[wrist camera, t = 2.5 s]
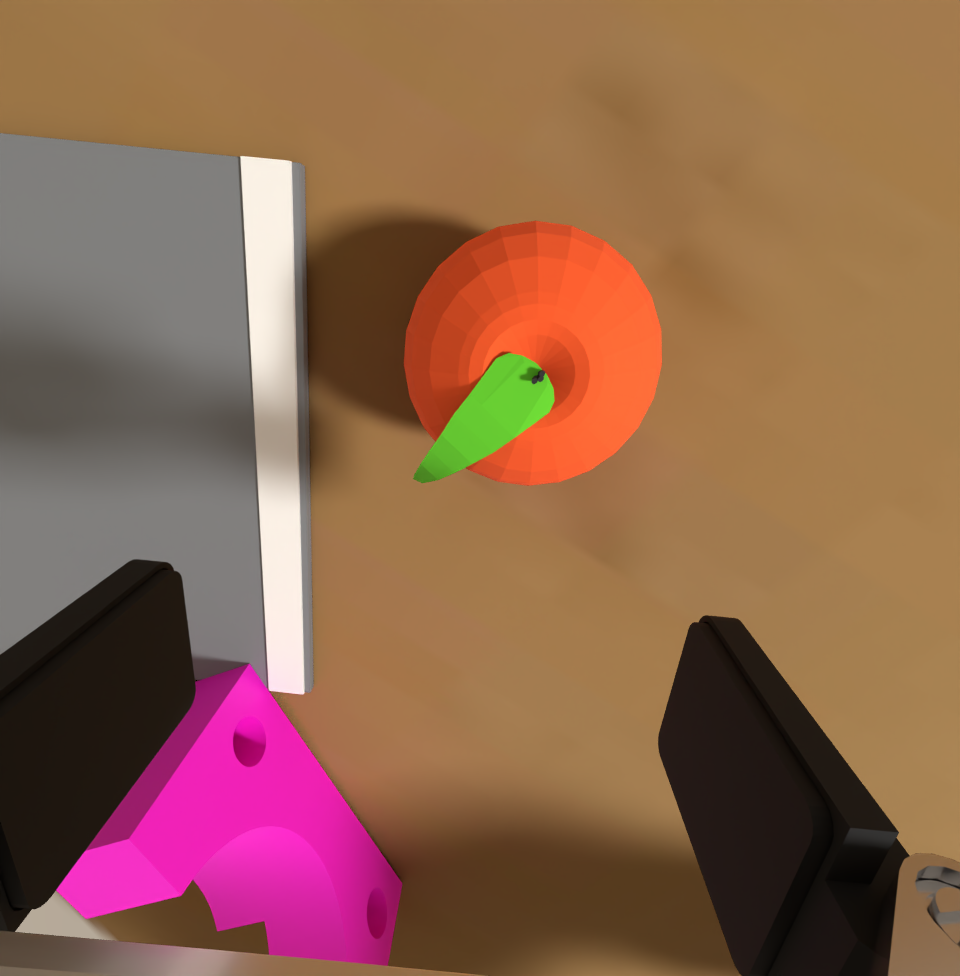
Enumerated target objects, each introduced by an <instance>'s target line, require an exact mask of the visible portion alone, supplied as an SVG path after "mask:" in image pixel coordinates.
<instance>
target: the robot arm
mask: <svg viewBox="0 0 960 976" xmlns="http://www.w3.org/2000/svg"><path fill="white" fill-rule="evenodd" d="M195 693H196V685H195V677H194V669H193V661H192V653H191V645H190V637H189V629H188V621H187V613H186V605H185V597H184V589H183V581H182V576H181V574H180V573H179V572H177V571H174V568H173V567H172V565H171V564H170V563H168V562H161V561H151V560H141V559H133V560H131V561H129V562H127V563H126V564H125V565H123V566H122V567H121V568H119V569H118V570H116V571H115V572H114V573H112V574H111V575H109V576H108V577H107V578H105V579H104V580H103V581H101V582H100V583H98V584H97V585H96V586H94V587H93V588H92V589H90V590H89V591H87V592H86V593H85V594H83V595H82V596H81V597H79V598H78V599H76V600H75V601H74V602H72V603H71V604H69V605H68V606H67V607H65V608H64V609H63V610H61V611H60V612H58V613H57V614H56V615H54V616H53V617H52V618H50V619H49V620H47V621H46V622H45V623H43V624H42V625H41V626H39V627H38V628H36V629H35V630H34V631H32V632H31V633H29V634H28V635H27V636H25V637H24V638H23V639H21V640H20V641H18V642H17V643H16V644H14V645H13V646H12V647H10V648H9V649H7V650H6V651H5V652H3V653H2V654H1V655H0V976H486V975H477V974H466V973H456V972H445V971H435V970H424V969H414V968H403V967H393V966H382V965H372V964H362V963H351V962H341V961H330V960H319V959H309V958H298V957H287V956H277V955H266V954H255V953H245V952H234V951H223V950H212V949H201V948H190V947H178V946H167V945H156V944H144V943H133V942H122V941H110V940H99V939H87V938H77V937H64V936H54V935H43V934H31V933H20V932H15V931H16V929H17V928H18V927H19V926H20V924H21V923H22V922H23V920H24V919H25V918H26V916H27V915H28V914H29V912H30V911H31V910H32V909H37V908H39V907H41V906H42V905H43V904H45V902H47V901H48V900H49V898H50V897H51V896H52V895H53V894H54V892H55V891H56V890H57V888H58V887H59V885H60V884H61V883H62V881H63V880H64V879H65V877H66V876H67V875H68V873H69V872H70V871H71V869H72V868H73V867H74V865H75V864H76V862H77V861H78V860H79V858H80V857H81V856H82V854H83V853H84V852H85V850H86V849H87V848H88V846H89V845H90V844H91V842H92V841H93V840H94V838H95V837H96V835H97V834H98V833H99V831H100V830H101V829H102V827H103V826H104V825H105V823H106V822H107V821H108V819H109V818H110V817H111V815H112V814H113V812H114V811H115V810H116V808H117V807H118V806H119V804H120V803H121V802H122V800H123V799H124V798H125V796H126V795H127V794H128V792H129V791H130V790H131V788H132V787H133V785H134V784H135V783H136V781H137V780H138V779H139V777H140V776H141V775H142V773H143V772H144V771H145V769H146V768H147V767H148V765H149V764H150V762H151V761H152V760H153V758H154V757H155V756H156V754H157V753H158V752H159V750H160V749H161V748H162V746H163V745H164V744H165V742H166V741H167V739H168V738H169V737H170V735H171V734H172V733H173V731H174V730H175V729H176V727H177V726H178V725H179V723H180V722H181V721H182V719H183V718H184V717H185V715H186V714H187V712H188V711H189V710H190V708H191V706H192V704H193V701H194V698H195ZM658 747H659V753H660V757H661V759H662V762H663V765H664V768H665V771H666V774H667V776H668V779H669V782H670V785H671V788H672V790H673V793H674V796H675V799H676V802H677V804H678V807H679V810H680V813H681V816H682V819H683V821H684V824H685V827H686V830H687V833H688V835H689V838H690V841H691V844H692V847H693V850H694V852H695V855H696V858H697V861H698V864H699V866H700V869H701V872H702V875H703V878H704V880H705V883H706V886H707V889H708V892H709V895H710V897H711V900H712V903H713V906H714V909H715V911H716V914H717V917H718V920H719V923H720V925H721V928H722V931H723V934H724V937H725V940H726V942H727V945H728V948H729V951H730V954H731V956H732V959H733V962H734V964H735V966H736V968H737V970H738V971H739V973H740V974H741V975H742V976H960V863H959V862H957V861H955V860H953V859H950V858H946V857H943V856H939V855H936V854H925V853H915V854H913V855H911V856H909V854H908V853H907V852H906V850H905V849H904V848H903V846H902V845H901V844H900V842H899V841H898V839H897V838H896V837H897V835H898V833H899V832H898V831H897V829H896V828H895V827H894V825H893V824H892V823H891V821H890V820H889V819H888V817H887V816H886V815H885V813H884V812H883V811H882V809H881V808H880V807H879V805H878V804H877V802H876V801H875V800H874V798H873V797H872V796H871V794H870V793H869V792H868V790H867V789H866V788H865V786H864V785H863V784H862V782H861V781H860V780H859V778H858V777H857V776H856V774H855V773H854V772H853V770H852V769H851V768H850V766H849V765H848V764H847V762H846V761H845V760H844V758H843V757H842V756H841V754H840V753H839V752H838V750H837V749H836V748H835V746H834V745H833V744H832V742H831V741H830V740H829V738H828V737H827V736H826V734H825V733H824V732H823V730H822V729H821V728H820V726H819V725H818V724H817V722H816V721H815V720H814V718H813V717H812V716H811V714H810V713H809V712H808V710H807V709H806V708H805V706H804V705H803V704H802V702H801V701H800V700H799V698H798V697H797V696H796V694H795V693H794V692H793V690H792V689H791V688H790V686H789V685H788V684H787V682H786V681H785V680H784V678H783V677H782V676H781V674H780V673H779V672H778V670H777V669H776V668H775V666H774V665H773V664H772V662H771V661H770V660H769V658H768V657H767V656H766V654H765V653H764V652H763V650H762V649H761V648H760V646H759V645H758V644H757V642H756V641H755V640H754V638H753V637H752V636H751V634H750V633H749V632H748V630H747V629H746V628H745V626H744V625H743V624H742V622H741V621H740V620H739V619H736V618H728V617H717V616H707V615H705V616H703V617H702V618H701V619H700V621H699V623H697V622H694V623H692V624H691V625H690V627H689V630H688V633H687V637H686V640H685V644H684V647H683V651H682V654H681V658H680V661H679V665H678V668H677V672H676V675H675V679H674V682H673V686H672V689H671V693H670V696H669V700H668V703H667V707H666V710H665V714H664V718H663V721H662V725H661V728H660V732H659V737H658Z"/></svg>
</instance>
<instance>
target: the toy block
mask: <svg viewBox="0 0 960 976" xmlns="http://www.w3.org/2000/svg"><path fill="white" fill-rule="evenodd" d="M195 685H196V693H195V698H194V701H193V704H192V706H191V708H190V710H189V711H188V712H187V714H186V715H185V717H184V718H183V719H182V721H181V722H180V723H179V725H178V726H177V727H176V729H175V730H174V731H173V733H172V734H171V735H170V737H169V738H168V739H167V741H166V742H165V744H164V745H163V746H162V748H161V749H160V750H159V752H158V753H157V754H156V756H155V757H154V758H153V760H152V761H151V762H150V764H149V765H148V767H147V768H146V769H145V771H144V772H143V773H142V775H141V776H140V777H139V779H138V780H137V781H136V783H135V784H134V785H133V787H132V788H131V790H130V791H129V792H128V794H127V795H126V796H125V798H124V799H123V800H122V802H121V803H120V804H119V806H118V807H117V808H116V810H115V811H114V812H113V814H112V815H111V817H110V818H109V819H108V821H107V822H106V823H105V825H104V826H103V827H102V829H101V830H100V831H99V833H98V834H97V835H96V837H95V838H94V840H93V841H92V842H91V844H90V845H89V846H88V848H87V849H86V850H85V852H84V853H83V854H82V856H81V857H80V858H79V860H78V861H77V862H76V864H75V865H74V867H73V868H72V869H71V871H70V872H69V873H68V875H67V876H66V877H65V879H64V880H63V881H62V883H61V884H60V885H59V887H58V888H57V890H56V891H57V892H58V893H59V894H60V895H61V896H63V897H64V898H65V899H66V900H67V901H68V902H69V903H70V904H71V905H72V906H73V907H74V908H75V909H76V910H77V911H78V912H79V913H80V914H81V915H82V916H83V917H84V918H85V919H88V918H92V917H96V916H100V915H105V914H109V913H113V912H117V911H121V910H125V909H129V908H133V907H137V906H142V905H146V904H150V903H154V902H158V901H162V900H166V899H170V898H175V897H179V896H182V894H183V893H184V891H185V890H186V888H187V887H188V885H189V884H190V882H191V881H192V880H193V881H194V882H195V883H196V884H197V885H198V887H199V888H200V890H201V891H202V893H203V894H204V896H205V898H206V900H207V902H208V904H209V906H210V909H211V911H212V914H213V917H214V920H215V924H216V928H217V932H218V931H222V930H227V929H231V928H236V927H240V926H245V925H249V924H254V923H258V922H263V921H265V926H266V932H267V939H268V947H269V955H277V956H287V957H298V958H309V959H319V960H330V961H341V962H351V963H362V964H372V965H382V966H388V961H389V956H390V950H391V945H392V939H393V933H394V928H395V922H396V917H397V911H398V905H399V900H400V894H401V888H402V882H401V881H400V879H399V878H398V876H397V875H396V874H395V872H394V871H393V869H392V868H391V866H390V865H389V864H388V862H387V861H386V859H385V858H384V856H383V855H382V853H381V852H380V851H379V849H378V848H377V846H376V845H375V843H374V842H373V840H372V839H371V838H370V836H369V835H368V833H367V832H366V830H365V829H364V828H363V826H362V825H361V823H360V822H359V820H358V819H357V817H356V816H355V815H354V813H353V812H352V810H351V809H350V807H349V806H348V805H347V803H346V802H345V800H344V799H343V797H342V796H341V794H340V793H339V792H338V790H337V789H336V787H335V786H334V784H333V783H332V781H331V780H330V779H329V777H328V776H327V774H326V773H325V771H324V770H323V769H322V767H321V766H320V764H319V763H318V761H317V760H316V758H315V757H314V756H313V754H312V753H311V751H310V750H309V748H308V747H307V745H306V744H305V743H304V741H303V740H302V738H301V737H300V735H299V734H298V733H297V731H296V730H295V728H294V727H293V725H292V724H291V722H290V721H289V720H288V718H287V717H286V715H285V714H284V712H283V711H282V710H281V708H280V707H279V705H278V704H277V702H276V701H275V699H274V698H273V697H272V695H271V694H270V692H269V691H268V689H267V688H266V686H265V685H264V684H263V682H262V681H261V679H260V678H259V676H258V675H257V674H256V672H255V671H254V669H253V668H252V666H251V665H250V664H247V665H244V666H241V667H238V668H235V669H232V670H229V671H226V672H223V673H220V674H217V675H214V676H211V677H208V678H205V679H202V680H199V681H196V682H195Z"/></svg>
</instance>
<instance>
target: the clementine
mask: <svg viewBox="0 0 960 976" xmlns="http://www.w3.org/2000/svg"><path fill="white" fill-rule="evenodd" d="M661 365H662V353H661V327H660V324H659V321H658V317H657V314H656V310H655V307H654V304H653V300H652V297H651V294H650V293H649V291H648V290H647V288H646V286H645V285H644V283H643V282H642V280H641V279H640V277H639V275H638V274H637V272H636V271H635V269H634V267H633V266H632V264H630V263H629V262H628V261H627V260H626V259H625V258H624V257H622V256H621V255H620V254H619V253H618V252H617V251H616V250H614V249H613V248H612V247H611V246H610V245H609V244H608V243H606V242H605V241H604V240H602V239H599V238H597V237H595V236H593V235H591V234H588V233H586V232H584V231H582V230H580V229H577V228H575V227H573V226H569V225H562V224H554V223H547V222H540V221H532V222H525V223H519V224H513V225H506V226H500V227H497V228H495V229H492V230H490V231H488V232H486V233H484V234H482V235H480V236H478V237H475V238H473V239H471V240H469V241H467V242H465V243H464V244H463V245H462V246H461V247H460V248H458V249H457V250H456V251H455V252H454V253H453V254H451V255H450V256H449V257H448V258H447V259H446V260H445V261H443V262H442V263H441V264H440V265H439V266H438V267H437V269H436V270H435V272H434V273H433V275H432V276H431V277H430V279H429V280H428V282H427V283H426V285H425V286H424V288H423V289H422V291H421V292H420V294H419V295H418V297H417V300H416V303H415V306H414V309H413V312H412V315H411V318H410V321H409V324H408V327H407V329H406V341H405V355H404V368H405V374H406V379H407V385H408V390H409V396H410V399H411V401H412V403H413V405H414V408H415V410H416V412H417V414H418V416H419V418H420V421H421V423H422V425H423V427H424V428H425V429H426V431H427V432H428V433H429V434H430V436H431V437H432V438H433V439H434V440H435V444H434V445H433V446H432V448H431V449H430V451H429V452H428V454H427V455H426V457H425V458H424V460H423V461H422V463H421V464H420V466H419V468H418V470H417V471H416V473H415V475H414V478H413V479H414V480H417V481H419V482H421V483H426V482H431V481H436V480H439V479H442V478H444V477H446V476H449V475H451V474H453V473H455V472H457V471H459V470H461V469H463V468H467V469H468V470H470V471H473V472H475V473H478V474H480V475H482V476H485V477H487V478H490V479H492V480H495V481H498V482H505V483H512V484H520V485H527V486H529V485H538V484H547V483H556V482H561V481H563V480H566V479H569V478H571V477H574V476H577V475H580V474H582V473H585V472H588V471H590V470H591V469H592V468H594V467H595V466H597V465H598V464H600V463H601V462H603V461H604V460H606V459H607V458H609V457H610V456H612V455H613V454H615V453H616V452H617V451H618V450H619V448H620V447H621V446H622V445H623V444H624V443H625V442H626V441H627V439H628V438H629V437H630V436H631V435H632V434H633V433H634V432H635V431H636V429H637V428H638V427H639V425H640V423H641V421H642V419H643V417H644V415H645V413H646V411H647V410H648V408H649V406H650V404H651V402H652V400H653V398H654V394H655V390H656V386H657V382H658V378H659V374H660V370H661Z"/></svg>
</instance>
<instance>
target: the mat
mask: <svg viewBox="0 0 960 976" xmlns="http://www.w3.org/2000/svg"><path fill="white" fill-rule="evenodd" d="M133 559H141V560H151V561H161V562H168V563H170V564H171V565H172V567H173V568H174V571H177V572H179V573H180V574H181V576H182V581H183V589H184V597H185V605H186V613H187V621H188V629H189V637H190V645H191V653H192V661H193V669H194V677H195V680H202V679H205V678H208V677H211V676H214V675H217V674H220V673H223V672H226V671H229V670H232V669H235V668H238V667H241V666H244V665H247V664H250V665H251V666H252V668H253V669H254V671H255V672H256V674H257V675H258V676H259V678H260V679H261V681H262V682H263V684H264V685H265V686H266V688H269V691H277V692H286V693H294V694H304V692H309V693H310V692H311V690H312V688H313V627H312V567H311V508H310V448H309V388H308V328H307V268H306V208H305V166H304V165H302V164H301V163H295V162H291V161H286V160H276V159H266V158H256V157H246V156H240V157H234V156H224V155H214V154H204V153H194V152H184V151H174V150H164V149H154V148H144V147H133V146H123V145H113V144H103V143H93V142H83V141H73V140H63V139H53V138H42V137H32V136H22V135H12V134H2V133H0V655H1V654H2V653H3V652H5V651H6V650H7V649H9V648H10V647H12V646H13V645H14V644H16V643H17V642H18V641H20V640H21V639H23V638H24V637H25V636H27V635H28V634H29V633H31V632H32V631H34V630H35V629H36V628H38V627H39V626H41V625H42V624H43V623H45V622H46V621H47V620H49V619H50V618H52V617H53V616H54V615H56V614H57V613H58V612H60V611H61V610H63V609H64V608H65V607H67V606H68V605H69V604H71V603H72V602H74V601H75V600H76V599H78V598H79V597H81V596H82V595H83V594H85V593H86V592H87V591H89V590H90V589H92V588H93V587H94V586H96V585H97V584H98V583H100V582H101V581H103V580H104V579H105V578H107V577H108V576H109V575H111V574H112V573H114V572H115V571H116V570H118V569H119V568H121V567H122V566H123V565H125V564H126V563H127V562H129V561H131V560H133Z"/></svg>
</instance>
